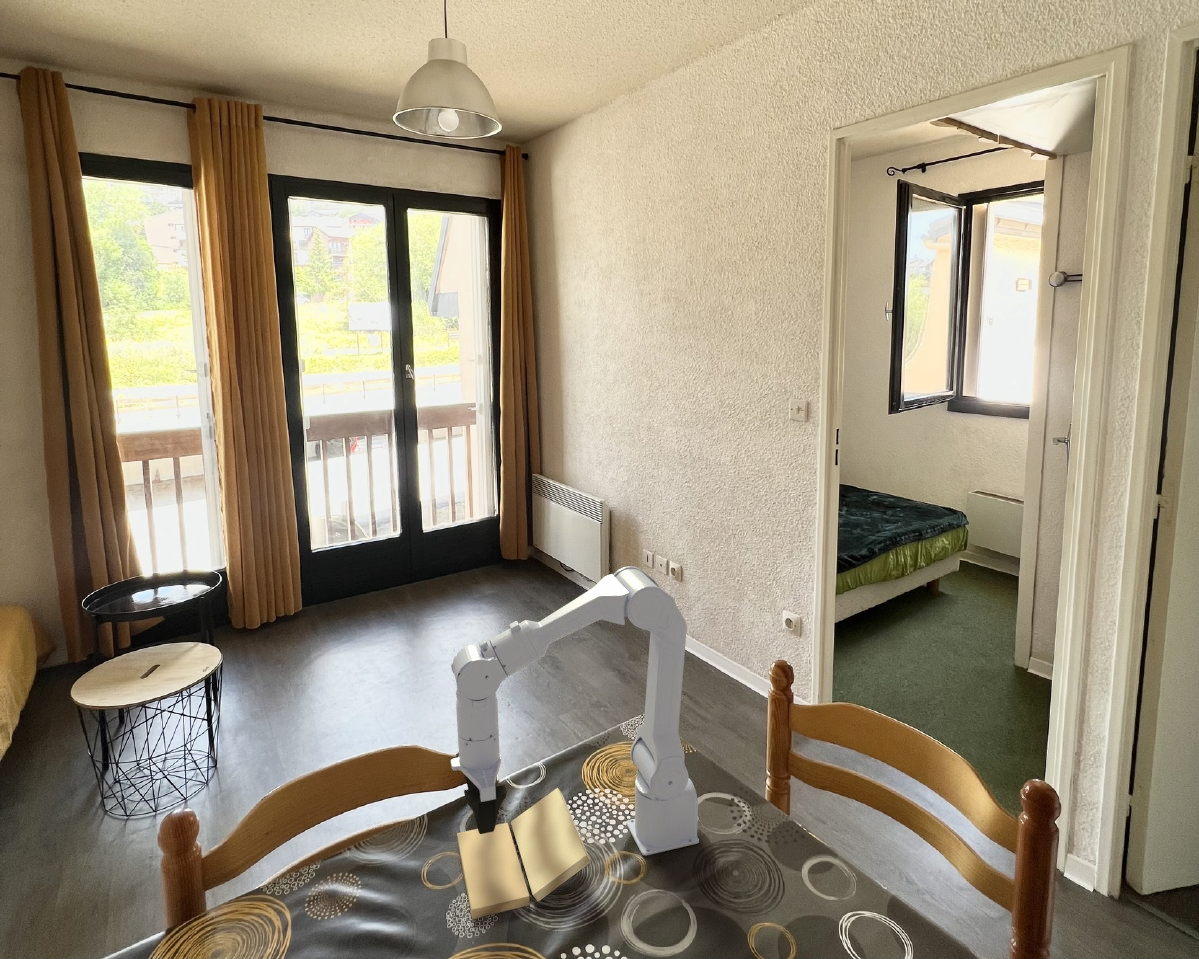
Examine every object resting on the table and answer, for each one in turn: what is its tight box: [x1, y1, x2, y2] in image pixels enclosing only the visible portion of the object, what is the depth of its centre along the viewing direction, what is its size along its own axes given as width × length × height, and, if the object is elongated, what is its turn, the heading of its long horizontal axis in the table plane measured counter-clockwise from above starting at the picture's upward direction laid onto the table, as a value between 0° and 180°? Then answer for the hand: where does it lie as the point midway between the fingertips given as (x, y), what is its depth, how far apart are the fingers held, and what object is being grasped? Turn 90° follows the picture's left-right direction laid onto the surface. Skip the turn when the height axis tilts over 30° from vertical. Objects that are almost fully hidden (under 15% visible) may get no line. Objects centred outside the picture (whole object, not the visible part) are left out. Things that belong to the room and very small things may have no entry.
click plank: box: [510, 787, 592, 902], centre depth 113 cm, size 9×16×2 cm, turn 15°
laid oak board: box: [456, 822, 530, 920], centre depth 111 cm, size 8×16×2 cm, turn 18°
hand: (482, 814), depth 109 cm, fingers open, 7 cm apart
